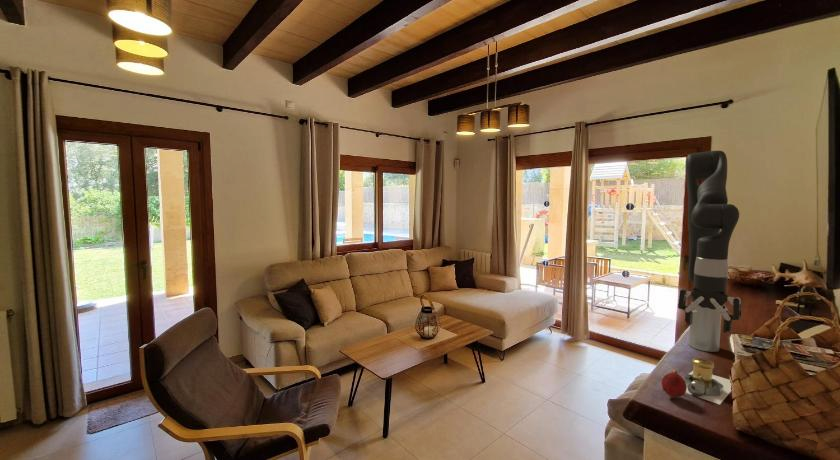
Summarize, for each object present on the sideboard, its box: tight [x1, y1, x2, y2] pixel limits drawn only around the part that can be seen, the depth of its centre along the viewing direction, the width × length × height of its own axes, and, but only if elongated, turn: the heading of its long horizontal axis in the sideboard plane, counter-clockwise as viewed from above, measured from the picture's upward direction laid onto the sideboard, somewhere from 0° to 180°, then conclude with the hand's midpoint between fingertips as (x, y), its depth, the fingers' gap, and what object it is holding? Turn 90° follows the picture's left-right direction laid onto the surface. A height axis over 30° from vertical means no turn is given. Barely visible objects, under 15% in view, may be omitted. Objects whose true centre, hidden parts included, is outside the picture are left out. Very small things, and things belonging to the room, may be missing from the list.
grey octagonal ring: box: [683, 373, 723, 398], centre depth 105 cm, size 11×9×4 cm
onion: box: [661, 369, 687, 399], centre depth 103 cm, size 6×6×8 cm
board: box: [682, 370, 733, 408], centre depth 108 cm, size 20×11×1 cm, turn 128°
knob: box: [691, 357, 715, 387], centre depth 106 cm, size 5×5×8 cm
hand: (707, 328), depth 106 cm, fingers open, 8 cm apart
